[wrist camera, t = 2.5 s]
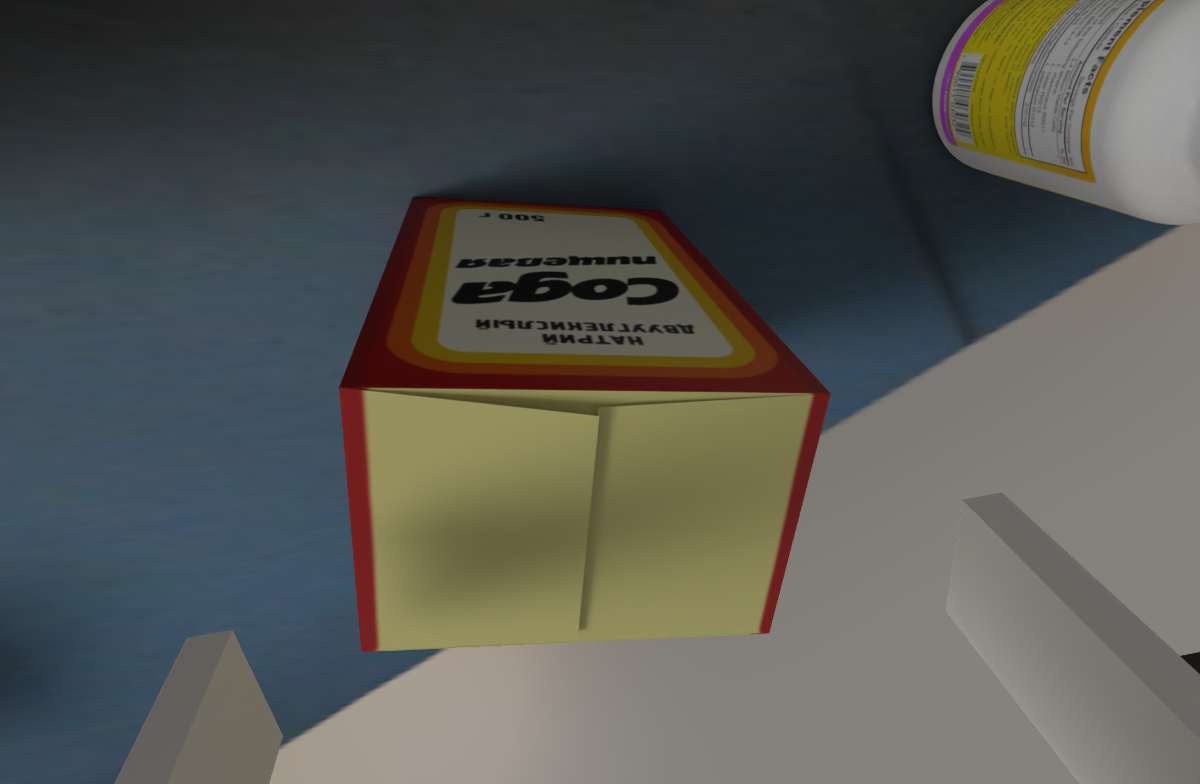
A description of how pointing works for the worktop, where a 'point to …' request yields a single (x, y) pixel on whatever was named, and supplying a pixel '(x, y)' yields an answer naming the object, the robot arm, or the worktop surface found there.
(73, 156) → the worktop surface
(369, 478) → the baking soda box
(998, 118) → the supplement bottle
